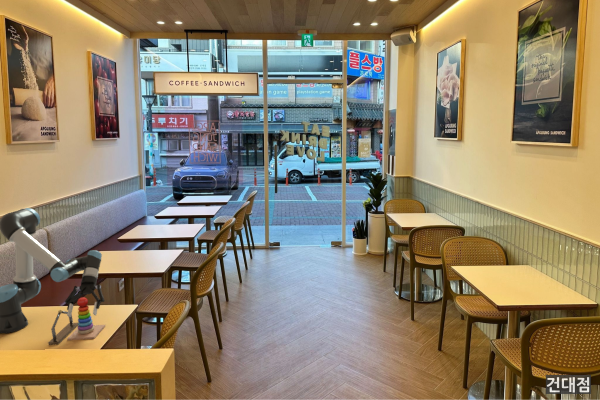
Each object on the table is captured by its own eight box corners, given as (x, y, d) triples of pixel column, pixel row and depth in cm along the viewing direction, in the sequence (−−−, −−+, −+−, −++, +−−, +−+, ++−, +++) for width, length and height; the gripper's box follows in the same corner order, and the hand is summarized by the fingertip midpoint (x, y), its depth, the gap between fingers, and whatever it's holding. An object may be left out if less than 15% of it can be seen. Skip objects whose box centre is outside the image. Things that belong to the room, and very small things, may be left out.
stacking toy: (88, 335, 241) (82, 301, 238) (74, 334, 243) (69, 300, 239) (97, 328, 249) (92, 295, 245) (84, 327, 250) (79, 294, 247)
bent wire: (69, 325, 257) (65, 302, 254) (78, 325, 257) (74, 301, 254) (48, 345, 235) (44, 319, 232) (58, 344, 235) (54, 319, 232)
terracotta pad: (67, 340, 239) (67, 338, 239) (79, 328, 253) (79, 326, 253) (94, 338, 239) (94, 336, 239) (105, 326, 253) (105, 324, 253)
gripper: (115, 279, 257) (108, 316, 245) (70, 282, 257) (61, 319, 245) (109, 273, 250) (102, 311, 238) (64, 276, 250) (54, 314, 238)
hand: (81, 315), depth 241 cm, fingers open, 13 cm apart
